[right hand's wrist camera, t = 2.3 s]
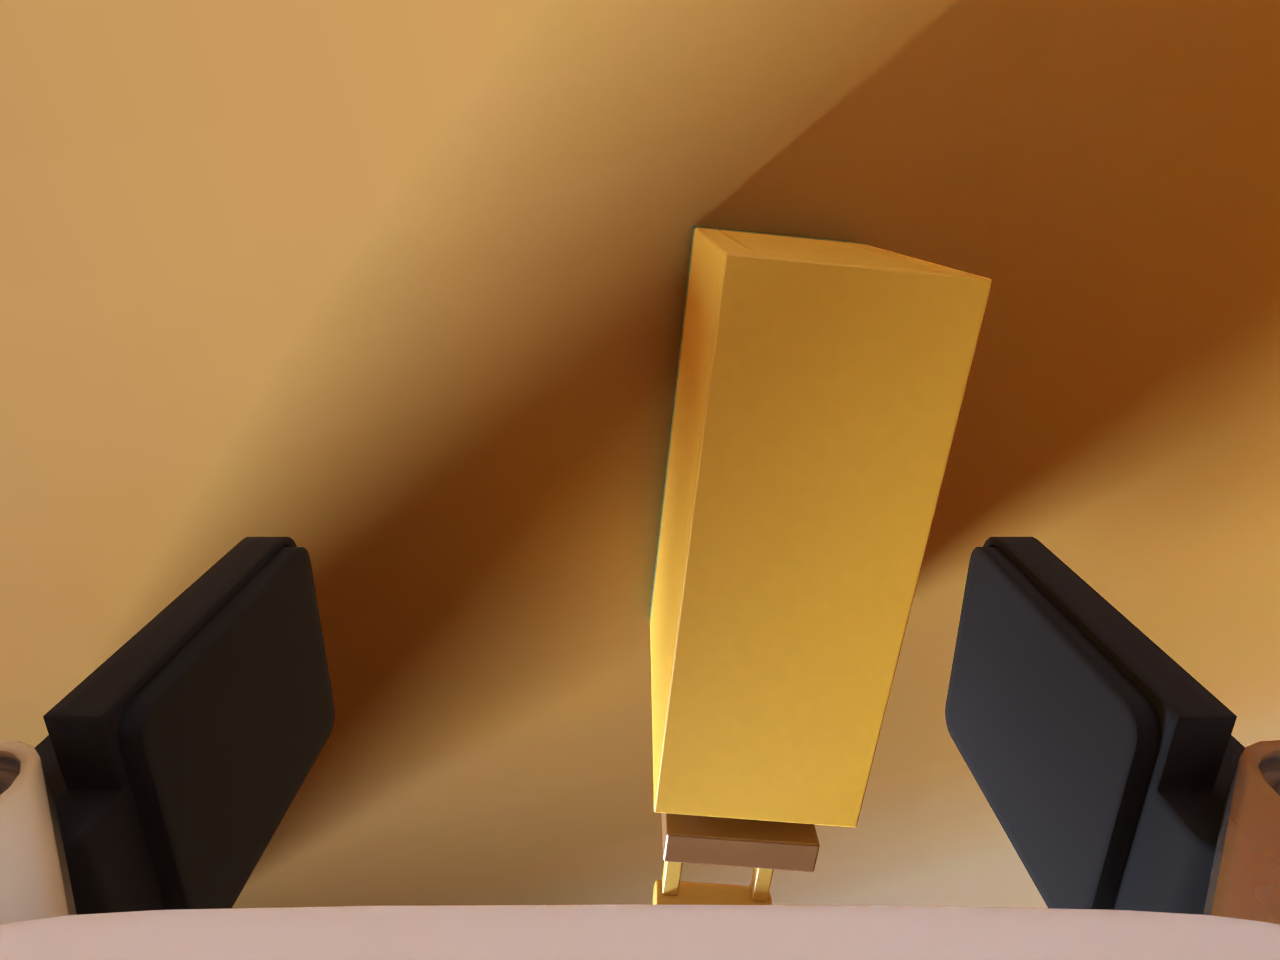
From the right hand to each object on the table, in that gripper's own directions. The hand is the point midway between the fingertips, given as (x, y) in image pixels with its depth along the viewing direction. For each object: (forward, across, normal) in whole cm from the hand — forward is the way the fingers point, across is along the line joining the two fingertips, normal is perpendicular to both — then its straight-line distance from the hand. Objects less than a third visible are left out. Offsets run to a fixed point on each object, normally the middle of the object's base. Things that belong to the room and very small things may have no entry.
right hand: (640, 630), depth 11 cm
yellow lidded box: (+20, +4, -4) cm, 21 cm away
